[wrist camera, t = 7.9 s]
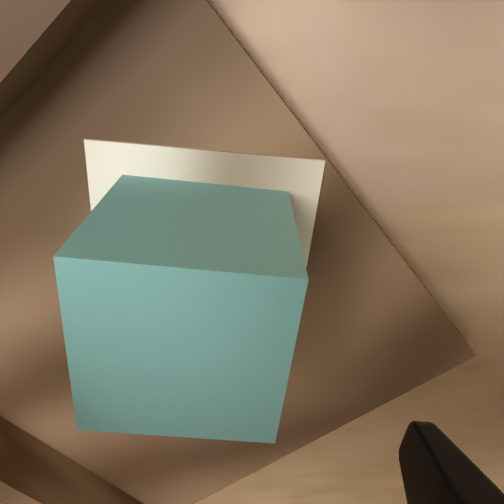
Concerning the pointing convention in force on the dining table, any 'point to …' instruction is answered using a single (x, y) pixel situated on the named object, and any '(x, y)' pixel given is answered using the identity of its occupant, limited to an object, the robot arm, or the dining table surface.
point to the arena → (185, 169)
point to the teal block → (182, 309)
